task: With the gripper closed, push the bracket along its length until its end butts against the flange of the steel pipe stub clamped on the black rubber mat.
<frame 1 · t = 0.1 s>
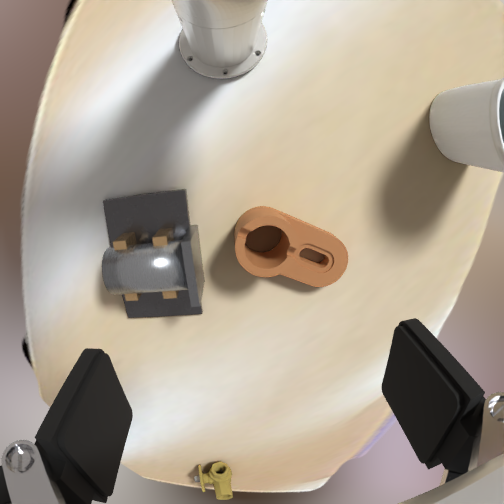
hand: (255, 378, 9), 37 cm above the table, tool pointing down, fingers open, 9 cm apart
ball valve: (213, 469, 66), on the table
utensil holder: (454, 125, 42), on the table
pipe stub: (155, 257, 46), on the table
bracket: (290, 244, 47), on the table
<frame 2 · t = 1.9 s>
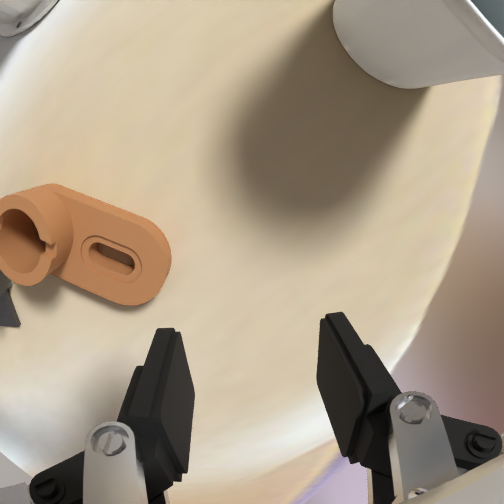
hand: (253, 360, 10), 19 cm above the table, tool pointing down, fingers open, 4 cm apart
utensil holder: (389, 32, 23), on the table
bracket: (91, 237, 28), on the table
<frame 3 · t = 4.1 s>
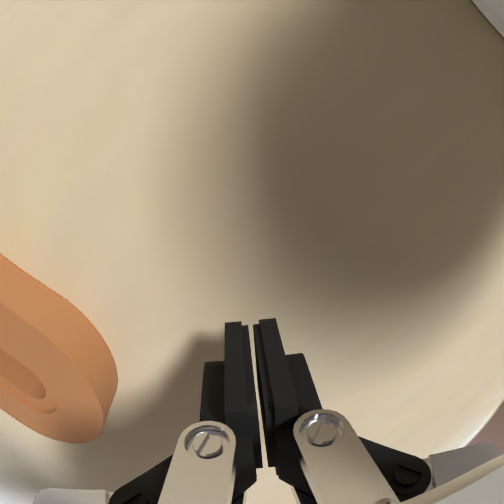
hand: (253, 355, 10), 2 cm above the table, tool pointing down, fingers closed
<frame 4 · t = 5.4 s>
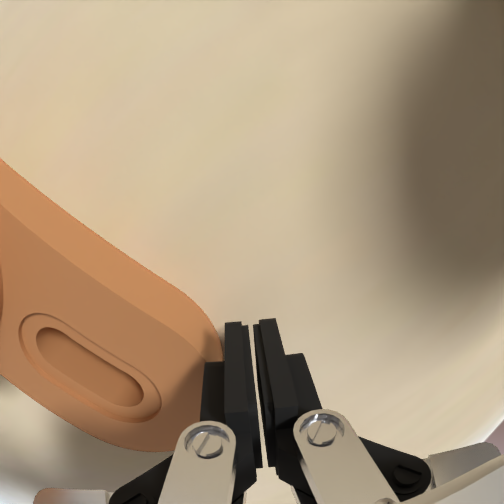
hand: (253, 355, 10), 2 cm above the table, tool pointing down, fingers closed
bracket: (48, 291, 11), on the table, touching gripper
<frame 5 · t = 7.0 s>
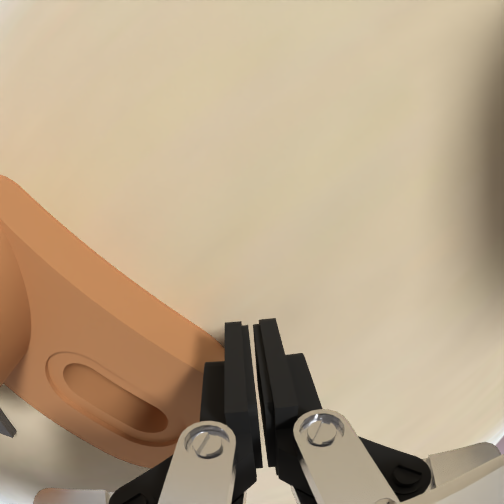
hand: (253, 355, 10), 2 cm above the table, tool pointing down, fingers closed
bracket: (70, 320, 12), on the table
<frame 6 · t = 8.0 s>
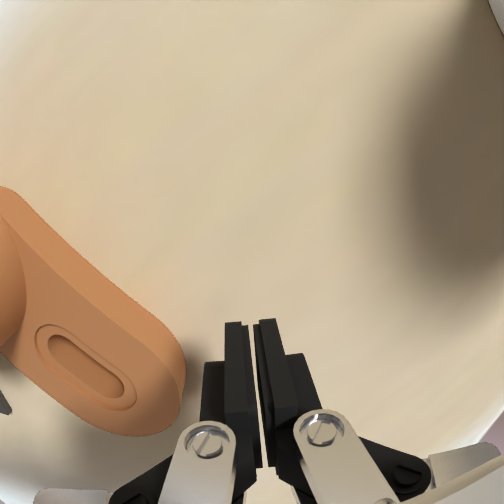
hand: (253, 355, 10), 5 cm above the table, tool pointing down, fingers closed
bracket: (57, 304, 15), on the table
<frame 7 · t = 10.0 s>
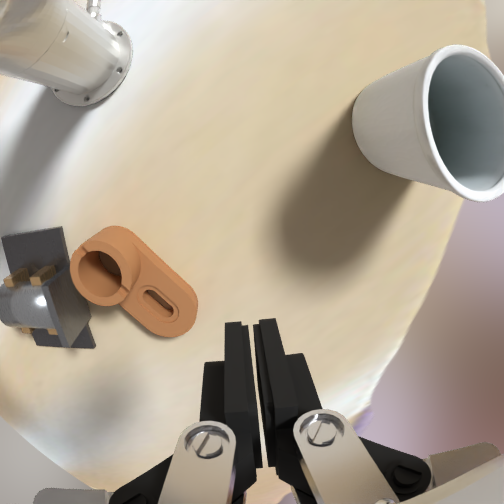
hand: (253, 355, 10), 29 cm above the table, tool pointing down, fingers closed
utensil holder: (393, 126, 35), on the table
pipe stub: (48, 292, 39), on the table
bracket: (143, 278, 40), on the table
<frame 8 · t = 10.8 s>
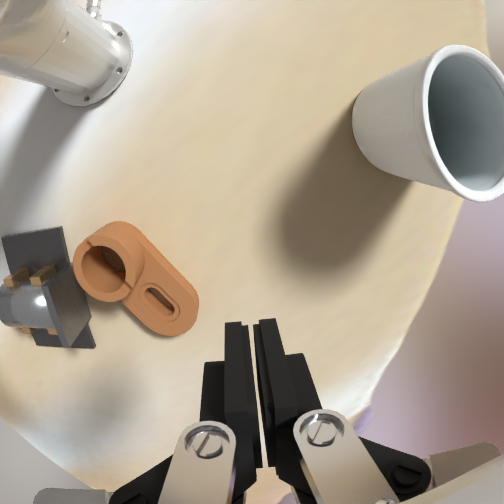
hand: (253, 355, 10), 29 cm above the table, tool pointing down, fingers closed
utensil holder: (393, 126, 35), on the table
pipe stub: (48, 292, 39), on the table
bracket: (146, 275, 40), on the table
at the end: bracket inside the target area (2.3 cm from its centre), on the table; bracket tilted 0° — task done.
